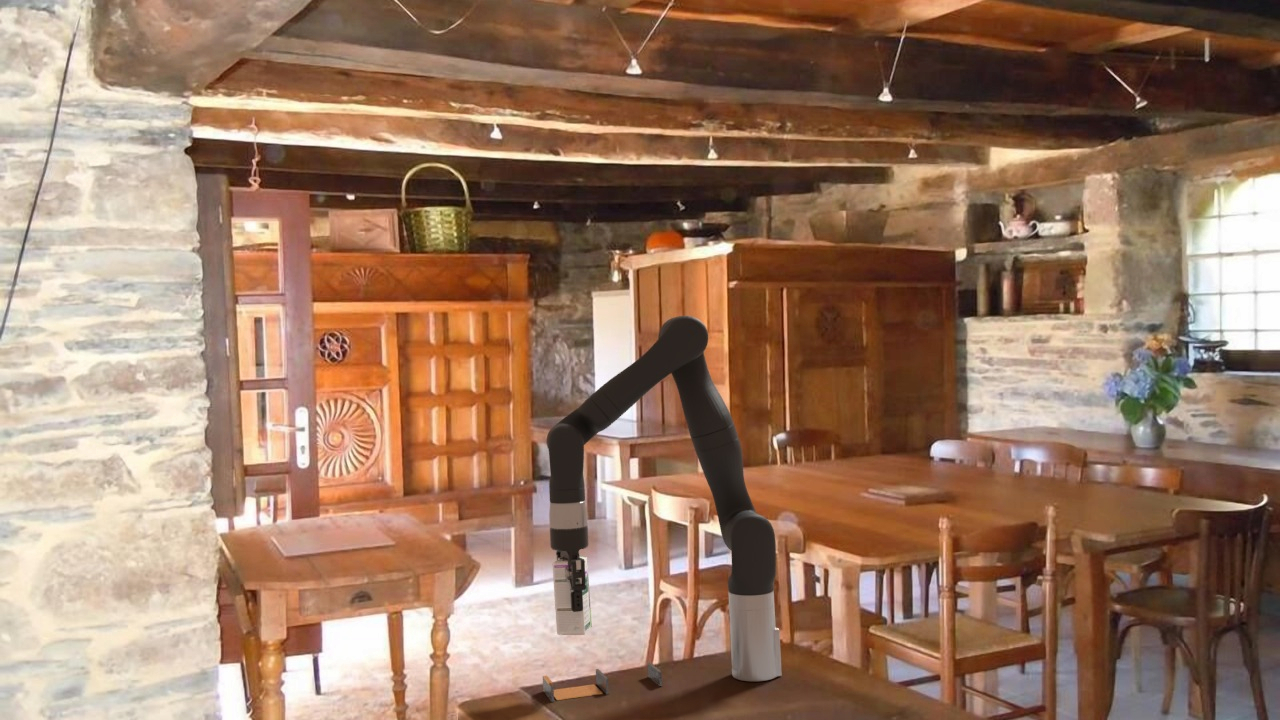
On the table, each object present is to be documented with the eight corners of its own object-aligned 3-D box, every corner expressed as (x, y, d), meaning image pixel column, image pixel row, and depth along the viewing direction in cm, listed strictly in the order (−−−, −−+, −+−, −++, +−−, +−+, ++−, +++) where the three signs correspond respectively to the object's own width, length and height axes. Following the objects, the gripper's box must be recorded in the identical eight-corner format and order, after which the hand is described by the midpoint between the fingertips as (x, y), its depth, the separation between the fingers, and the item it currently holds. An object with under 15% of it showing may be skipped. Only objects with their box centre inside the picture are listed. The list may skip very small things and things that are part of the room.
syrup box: (584, 635, 209) (581, 560, 210) (555, 635, 211) (551, 561, 211) (592, 628, 215) (588, 555, 215) (563, 628, 216) (559, 555, 216)
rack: (650, 676, 221) (649, 660, 221) (662, 686, 214) (661, 669, 214) (542, 691, 215) (541, 674, 215) (551, 702, 207) (550, 684, 207)
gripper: (596, 527, 207) (600, 612, 207) (578, 518, 221) (581, 598, 221) (558, 530, 205) (562, 616, 205) (542, 521, 219) (546, 602, 219)
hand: (572, 607), depth 213 cm, fingers closed on syrup box, 7 cm apart
